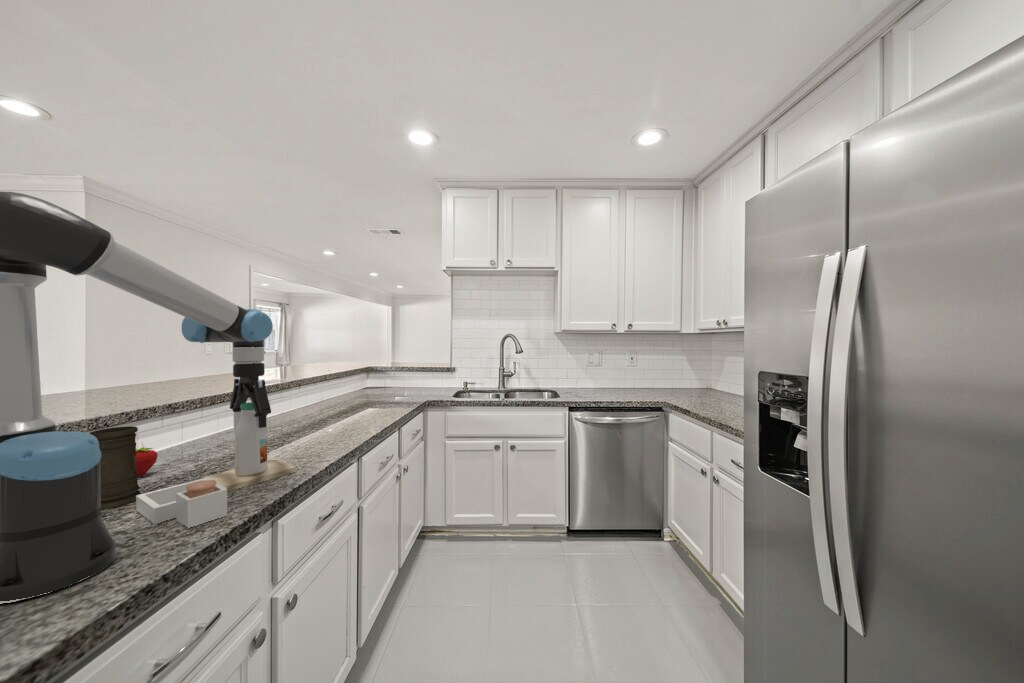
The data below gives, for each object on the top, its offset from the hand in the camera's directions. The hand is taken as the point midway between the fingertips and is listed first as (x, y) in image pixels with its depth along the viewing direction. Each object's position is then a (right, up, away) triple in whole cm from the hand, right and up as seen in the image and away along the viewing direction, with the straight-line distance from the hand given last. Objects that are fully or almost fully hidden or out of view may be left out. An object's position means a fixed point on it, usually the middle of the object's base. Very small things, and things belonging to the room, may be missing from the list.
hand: (249, 436), depth 111 cm
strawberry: (-34, -13, +3) cm, 37 cm away
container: (-22, -13, -16) cm, 30 cm away
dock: (+1, -12, -22) cm, 25 cm away
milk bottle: (0, -11, 0) cm, 11 cm away
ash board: (0, -12, 0) cm, 12 cm away
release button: (+7, -10, -26) cm, 29 cm away
